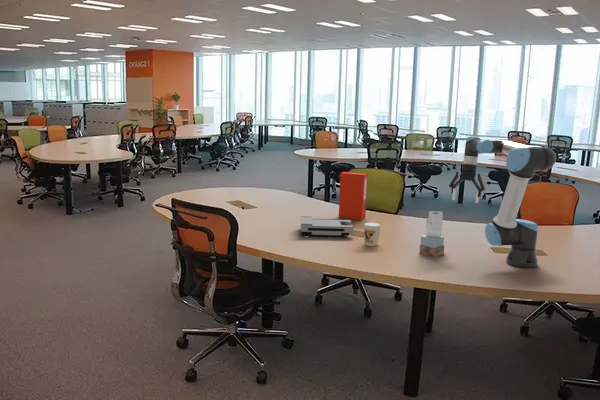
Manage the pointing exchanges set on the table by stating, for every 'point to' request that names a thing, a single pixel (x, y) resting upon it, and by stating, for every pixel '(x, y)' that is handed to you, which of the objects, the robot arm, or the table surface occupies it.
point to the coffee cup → (371, 233)
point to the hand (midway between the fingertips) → (464, 201)
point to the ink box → (434, 224)
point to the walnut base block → (431, 251)
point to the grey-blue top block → (432, 241)
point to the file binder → (352, 195)
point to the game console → (325, 227)
